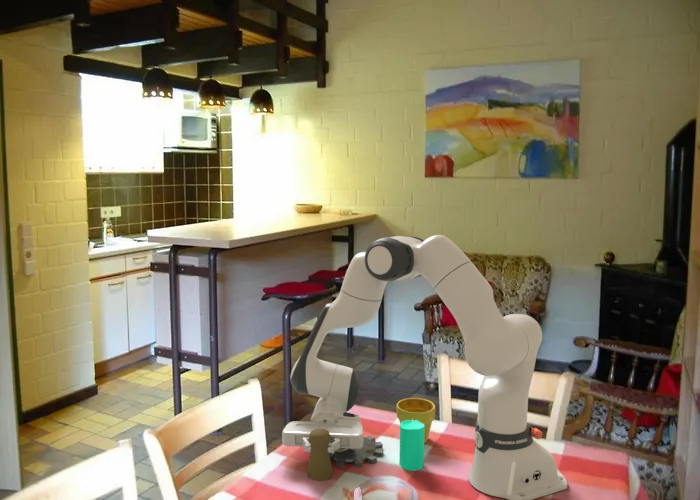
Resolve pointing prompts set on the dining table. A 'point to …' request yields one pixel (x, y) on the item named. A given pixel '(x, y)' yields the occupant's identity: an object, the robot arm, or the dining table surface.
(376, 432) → the dining table surface
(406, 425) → the candle
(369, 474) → the dining table surface
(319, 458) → the cork
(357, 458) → the sprocket plate
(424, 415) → the plant pot
